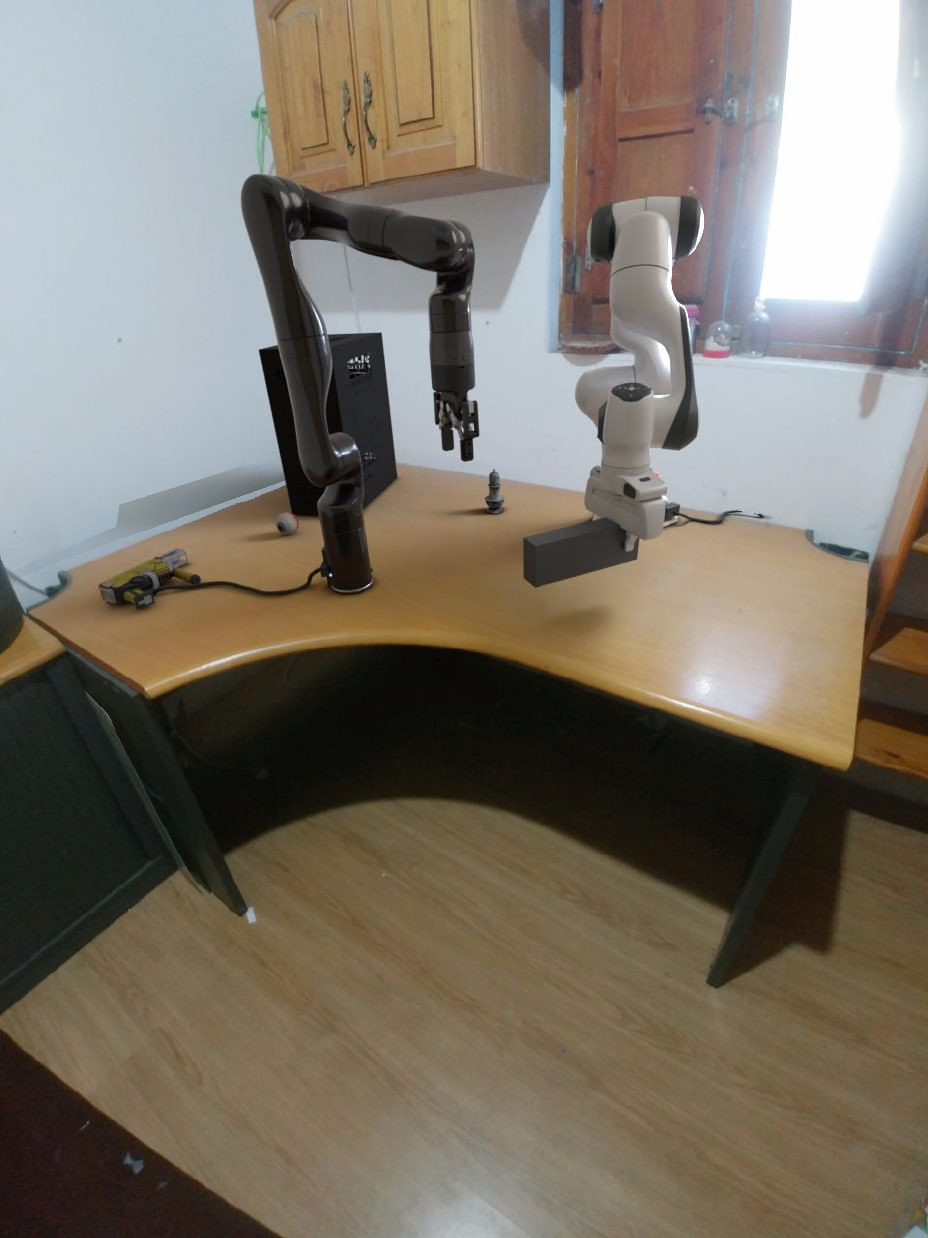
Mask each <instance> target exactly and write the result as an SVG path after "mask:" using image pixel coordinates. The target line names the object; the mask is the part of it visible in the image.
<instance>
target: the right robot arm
mask: <svg viewBox="0 0 928 1238" xmlns="http://www.w3.org/2000/svg"><path fill="white" fill-rule="evenodd" d="M703 212H704V211H703V209H702V203H701V202H700V200H699V199H698V198H697V197H694V196H690V195H684V194H683V195H682V194H681V195H680V197H679V196H667V195H665V196H664V195H663V196H662V195H660V196H659V195H658V196H656V195H654V196H653V195H652V196H647V197H644V198H634V199H629V200H624V201H620V202H619V201H618V202H616V203H614V202H613V201H610V202H607V203H603V204H600V205H599V206H597V207H596V209H595V210H594V212H592V215H591V219H590V221H589V223H588V227H587V232H586V243H587V248H588V252H589V254H590V257H591V258H592V259H593V261H595V263H597V264H603V265H610V264H611V269H610V280H609V309H610V311H611V314H610V315H611V316H610V329H609V333H610V337H611V340H612V342H613V343H614V344H615V345H616V346H618V347H619V348H621V349H623V350H624V351H627V352H629V353H631V354H632V355H633V357H634V358H633V359H634V364H631V365H619V366H603V367H598V368H595V369H590V370H587V371H584V372H583V373H582V374H581V376H580V377H579V378H578V379H577V383H576V385H575V390H574V400H575V403H576V405H577V407H578V409H579V410H580V412H582V414H583V415H585V416H586V417H588V418H589V419H590V420H591V421H592V422H593V424H594V426H595V427H596V429H597V435H596V438H597V439H598V440H599V442H600V443H601V458H600V465H595V466H593V467H592V468H591V469H590V471H589V477H588V479H587V482H586V486H585V491H584V493H585V494H584V499H583V500H584V501H583V503H584V507H585V510H586V511H589V512H591V513H592V514H593V517H592V520H591V521H593V520H597V519H601V518H605V517H606V518H608V519H610V520H612V521H613V522H615V523H617V524H619V525H620V528H622V529H624V530H626V535H627V536H628V537H627V539H626V540H625V541H622V549H624V550H625V551H627V552H628V551H631V550H633V548H634V542H635V541H636V539H637V538H638V537H639V539H640V540H643V541H649V540H653V539H657V538H659V537H660V536H661V535H662V534H663V531H664V528H665V527H668V526H670V525H672V524H675V523H677V522H678V516H680V517H682V518H685V519H686V520H689V521H694V522H698V523H703V524H718V523H722V521H724V517H725V515H730V514H735V513H737V514H738V513H743V512H742V511H737V510H738V509H733V510H725V511H724V512H722V513H721V515H720V518H719V519H715V520H714V519H713V520H711V519H710V520H709V519H701V518H696V517H693V516H689V515H687V514H685V513H682V512H680V510H681V504H680V503H676V502H673V501H672V502H670V501H669V498H668V497H667V496H666V495H667V494H668V485H667V483H666V482H665V481H664V480H662V479H661V477H660V473H659V472H657V471H654V469H653V468H651V466H650V465H651V455H650V449H662V450H667V451H678V452H680V451H681V450H683V449H685V448H686V447H687V446H689V445H690V444H691V443H692V442H693V441H695V439H697V437H698V434H699V431H700V427H701V414H700V408H699V407H700V406H699V404H698V397H697V390H696V384H695V383H696V381H695V371H694V369H695V368H694V357H693V348H692V338H691V337H692V336H691V327H690V320H689V316H688V312H687V309H686V306H685V305H682V304H681V303H680V302H678V301H677V298H676V297H675V295H674V293H673V290H672V281H671V280H672V267H673V266H676V265H677V264H678V262H679V261H681V260H684V259H686V258H687V257H689V256H690V255H691V254H692V253H693V252H694V251H695V250H696V248H697V245H698V243H699V242H700V240H701V237H702V234H703V230H704V224H705V223H704V220H705V218H704V213H703ZM735 510H736V511H735ZM754 514H755V515H757V516H758V517H759V518H762V519H765V518H766V517H765V516H764V514H762V513H761V514H756V513H754Z"/></svg>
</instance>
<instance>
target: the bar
mask: <svg viewBox="0 0 928 1238" xmlns="http://www.w3.org/2000/svg"><path fill="white" fill-rule="evenodd" d="M592 520H593V519H592ZM592 520H589V521H586V522H581V523H577V524H574V525H573V524H572V525H569V526H565V527H564V526H563V527H560V528H556V529H553V530H548V531H543V532H540V533H537V534H532V535H527V536H524V537H523V538H522V539H523V540H522V541H523V542H522V544H523V545H522V546H523V548H522V549H523V553H522V555H523V557H522V558H523V559H522V560H523V561H522V562H523V563H522V564H523V574H522V575H523V576H522V577H523V579H524V580H525V581H526V582H527V583H529V584H530V585H532V587H533V588H534V589H537V588H540V587H543V586H546V585H551V584H554V583H558V582H561V581H565V580H568V579H572V578H576V577H579V576H583V575H586V574H591V573H593V572H597V571H601V570H605V569H609V568H611V567H612V568H613V567H615V566H618V565H622V564H626V563H630V562H634V561H636V560H638V556H639V546H640V538H639V537H638V538H637V539H636V541H635V542H634V548H633V550H631V551H628V552H627V551H625V550H624V549H622V541H625V540H626V539H627V537H628V536H627V535H626V530H624V529H622V528H620V525H619V524H617V523H615V522H613V521H612V520H610V519H608V518H606V517H605V518H601V519H597V520H593V521H592Z"/></svg>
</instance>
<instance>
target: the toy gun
mask: <svg viewBox="0 0 928 1238" xmlns="http://www.w3.org/2000/svg"><path fill="white" fill-rule="evenodd" d="M183 556H185V560H184V559H181V558H182V557H183ZM188 562H189V560H188V554H187V551H186V549H183V548H181V549H180V548H179V547H175V548H174V549H172V550H169V551H168V552H165V553H163V554H161V555H159V556H155V557H152V558H151V559H148V560H146V561H145V562H142V563H140V564H138V565H136V566H134V567H132V568H130V569H128V570H125V571H123V572H121V573H119V574H117V575H115V576H113V577H111V578H108V579H106V580H104V581H102V582H100V583H99V584H98V589H99V592H100V596H101V599H102V601H103V602H105V604H106V605H110V606H111V605H114V604H115V605H121V604H126V603H132V604H134V605H135V609H136V611H141V610H144V609H145V608H147V607H149V606H153V605H154V604H155V603H156V602H155V599H154V596H153V593H152V592H153V591H154V590H155V589H157V588H159V587H160V584H164V583H166V582H168V581H171V580H172V579H173V578H176V579H179V580H182V581H183V582H186V583H188V584H190V585H192V584H198V583H202V579H201V576H200V575H199V574H195V573H193V572H190V571H187V570H185V569H183V568H181V566H183V565H185V564H188Z"/></svg>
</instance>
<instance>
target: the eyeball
mask: <svg viewBox="0 0 928 1238" xmlns="http://www.w3.org/2000/svg"><path fill="white" fill-rule="evenodd" d="M299 525H300V522H299V519H298V517H297V515H294V514H292V512H287V511H286V512H282V513H280V514H279V515H278V516H277V517H276V520H275V527H276V529H277V530H278V531H279V532H280V533H281V534H282V535H285V536H286V535H287V536H289V535H293V534H295V533H296V532H297V531H298V529H299Z"/></svg>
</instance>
